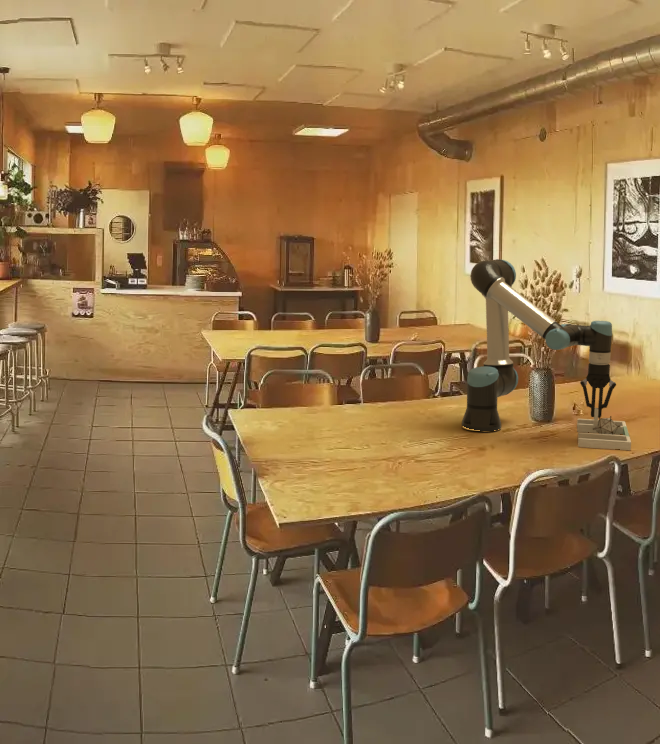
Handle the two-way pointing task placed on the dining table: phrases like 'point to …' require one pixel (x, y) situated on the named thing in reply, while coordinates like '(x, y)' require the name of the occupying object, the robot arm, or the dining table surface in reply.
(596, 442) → the trap box
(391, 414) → the dining table surface
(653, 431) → the dining table surface
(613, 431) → the game die
